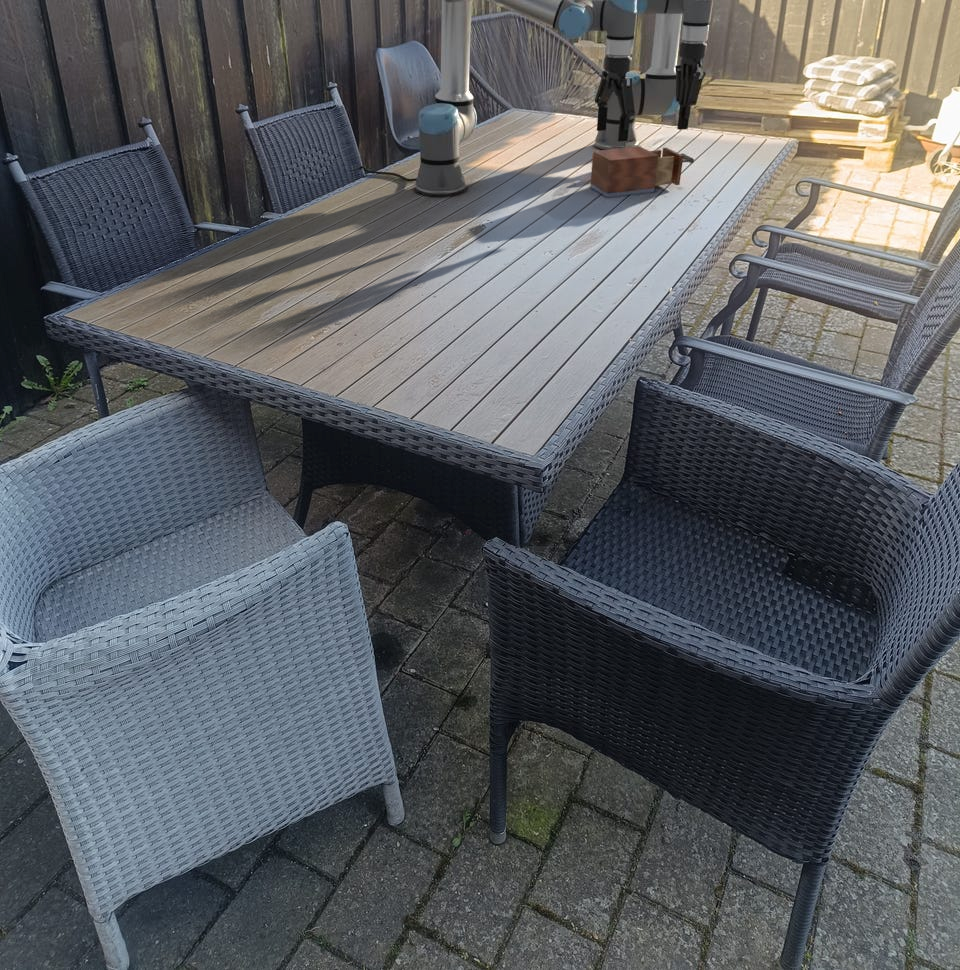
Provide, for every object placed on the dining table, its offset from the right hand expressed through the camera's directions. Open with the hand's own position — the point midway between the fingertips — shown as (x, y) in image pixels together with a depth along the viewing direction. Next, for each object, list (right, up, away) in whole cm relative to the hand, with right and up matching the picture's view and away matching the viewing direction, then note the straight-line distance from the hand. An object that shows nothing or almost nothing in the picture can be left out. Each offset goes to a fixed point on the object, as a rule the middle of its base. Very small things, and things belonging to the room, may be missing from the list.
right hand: (682, 128), depth 255 cm
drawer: (-6, -14, +7) cm, 16 cm away
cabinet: (-18, -17, +4) cm, 25 cm away
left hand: (-22, -5, -7) cm, 24 cm away
